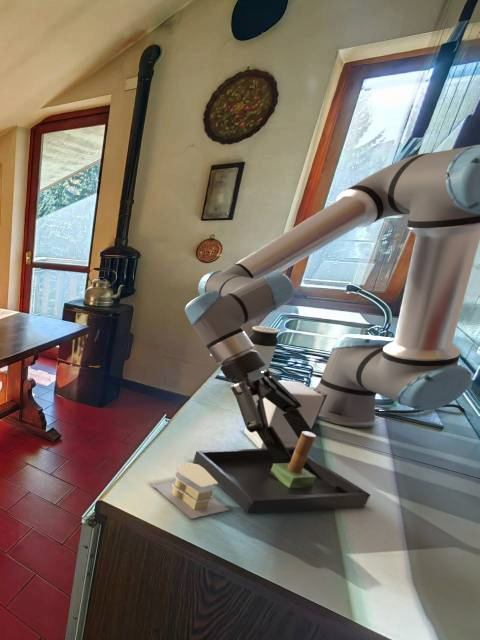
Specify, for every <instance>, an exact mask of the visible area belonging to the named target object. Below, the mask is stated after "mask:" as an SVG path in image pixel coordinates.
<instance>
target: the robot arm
mask: <svg viewBox="0 0 480 640" xmlns="http://www.w3.org/2000/svg"><path fill="white" fill-rule="evenodd" d="M399 215H408V219H407V225H406V229H407V230H409V231H410V232H412V234H414V235H415V238H414V243H413V248H412V252H411V258H410V261H409V267H408V272H407V275H406V281H405V286H404V290H403V295H402V301H401V305H400V310H399V315H398V320H397V323H396V329H395V334H394V337H386V336H381V335H380V336H379V335H367V334H343V335H340V336H339V337H338V338H337V339H336V341H335V343H334V345H333V347H331V351H330V354H329V356H328V358H327V362H326V364H325V367H324V369H323V372H322V375H321V378H320V380H319V383H318V384H317V386H315V388H317V389H318V391H319V390H320V391H321V392H324V393H326V394H327V397H326V399H325V401H324V404H323V406H322V408H321V411H320V413H319V415H318V417H317V420H318V419H319V420H320V421H324V422H327V423H331V424H334V425H338V426H342V427H343V426H344V427H349V428H357V429H358V428H359V429H360V428H363V429H364V428H370V427H372V426H373V425H374V423H375V420H376V413H385V414H387V413H388V414H415V413H416V414H417V413H422V412H425V411H431V410H432V411H433V410H437V409H441V408H456V409H458V410H459V411H461V412H466V410H465V408H464V407H463V406H461V405H459V404H455V403H453V404H452V402H453V401H456V400H457V399H459V398H460V397H461V396H462V395H463V394H464V393H465V392H466V391H467V390H468V388H469V386H470V385H471V383H472V379H473V377H472V373H471V371H470V370H469V369H468V368H466V367H465V366H462V365H461V364H459V360H460V356H461V349H460V348H459V347H457V346H456V345H454V343H453V341H454V336H455V334H456V329H457V326H458V323H459V318H460V315H461V311H462V307H463V303H464V300H465V296H466V292H467V288H468V285H469V281H470V278H471V274H472V269H473V266H474V262H475V259H476V255H477V251H478V248H479V244H480V144H475V145H470V146H465V147H458V148H457V147H456V148H453V149H452V148H451V149H446V150H441V151H440V150H439V151H433V152H425V153H424V152H423V153H418V154H415V155H411V156H409V157H405V158H401V159H400V160H398V161H396V162H393V163H391V164H389V165H387V166H384V167H383V168H381V169H380V170H377V171H375V172H374V173H372V174H369V176H367V177H365V178H363V179H361V180H360V181H358V182H356V183H354V184H353V185H352V186H350V187H348V188H347V189H345V190H344V191H342V192H340V194H339V195H338V196H337V198H336V200H335V201H334V202H333V203H331V204H329V205H328V206H326V207H324V208H322V209H321V210H319V211H318V212H316V213H315V214H313V215H312V216H310V217H308V218H306V219H305V220H303V221H301V222H300V223H299V224H297V225H296V226H293V227H292V228H290V229H289V230H288V231H286V232H284V233H282V234H281V235H279V236H278V237H276V238H274V239H272V240H271V241H270V242H268V243H266V244H265V245H263V246H262V247H260V248H258V249H257V250H255V251H253V252H252V253H249V254H248V255H247V256H245V257H244V258H242V259H241V260H238V261H237V262H236V263H234V264H232V265H231V266H229V267H228V268H226V269H224V270H215V271H213V270H212V271H210V272H208V273H206V274H204V275H203V277H202V278H201V279H200V280H199V282H198V286H197V290H198V296H196V297H195V298H194V299H192V300H190V301H189V302H188V303H187V304H186V305H185V307H184V313H185V315H186V317H187V319H188V321H189V322H190V324H191V327H193V329H194V330H195V332H196V333H197V335H198V336H199V337H200V340H201V341H202V342H203V344H204V345H205V347H206V349H207V350H208V351H209V353H210V354H209V356H210V358H213V360H214V362H216V364H217V365H221V366H220V371H221V373H222V374H223V376H224V377H225V379H226V380H227V381H228V382H231V381H234V380H236V383H234V384H231V385H230V390H231V391H232V393H233V394H234V395H233V396H234V397H235V399H236V403H237V405H238V408H239V411H240V415H241V417H242V420H243V423H244V425H245V428H247V430H248V431H249V432H251V433H252V432H255V431H256V432H257V433H258V435H259V436H260V438H261V440H262V441H263V443H264V444H265V446H266V447H267V449H268V451H269V452H270V454H271V455H272V457H273V458H274V460H275V462H276V461H281V460H285V459H289V458H291V457H292V456H291V454H290V453H289V451H288V450H287V448H286V447H285V445H284V444H283V442H282V440H281V439H280V437H279V436H278V434H277V433H276V431H275V430H274V428H273V427H272V426H268V421H267V417H266V412H265V407H264V403H263V399H264V398H266V399H267V400H269V401H270V402H271V403H273V404H274V405H275V406H277V407H278V408H279V409H281V410H282V411H283V412H287V413H284V414H283V416H284V417H285V419H286V420H287V422H288V423H289V425H290V426H291V428H292V429H293V431H294V432H295V434H296V435H297V437H298V438H300V436H301V433H302V432H303V431H307V432H311V433H313V434H315V432H314V431H313V430H312V428H310V427H309V425H308V424H307V422H306V421H305V419H304V418H303V416H302V415H301V413H300V412H299V411H298V409H297V408H300V407H301V404H300V403H299V401H298V400H297V399H296V398H295V397H294V396H293V395H292V394H291V393H290V392H289V391H288V390H287V389H286V388H285V387H284V386H283V385H282V384H281V383H280V382H279V381H280V380H278V379H277V378H276V377H275V375H274V374H273V373H272V372H271V371H270V369H267V370H265V371H263V372H261V371H260V370H259V368H261V367H264V366H265V364H266V363H265V361H264V360H263V358H262V357H261V356H260V354H259V353H258V351H257V352H256V351H253V348H254V345H253V343H252V342H251V340H250V339H249V335H248V334H247V333H246V332H245V330H244V328H243V327H242V326H243V325H244V324H247V323H250V322H251V321H253V320H256V319H258V318H260V317H262V316H264V315H267V314H269V313H271V312H274V311H276V310H278V309H279V308H282V307H283V306H284V305H286V304H288V303H290V302H291V301H292V300H293V298H294V296H295V290H294V284H293V282H292V281H291V279H290V278H289V277H288V276H287V275H285V273H282V272H284V271H286V270H287V269H289V268H291V267H292V266H294V265H296V264H297V263H299V262H301V261H302V260H304V259H306V258H308V257H310V256H311V255H312V254H315V253H316V252H318V251H320V250H321V249H323V248H324V247H326V246H328V245H329V244H331V243H333V242H335V241H337V240H338V239H339V238H341V237H343V236H345V235H347V234H348V233H350V232H352V231H353V230H355V229H357V228H367V227H369V226H371V225H372V224H374V223H376V222H377V221H380V220H383V219H386V218H388V217H393V216H394V217H395V216H399ZM377 395H380V396H382V397H384V398H387V399H390V401H391V400H392V401H393V402H396V403H397V404H399V405H400V406H403V407H404V406H405V407H408V408H411V409H385V410H386V411H379V410H383V409H381V408H376V396H377ZM462 407H463V408H462Z"/></svg>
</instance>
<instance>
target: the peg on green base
mask: <svg viewBox="0 0 480 640" xmlns="http://www.w3.org/2000/svg"><path fill="white" fill-rule="evenodd" d="M313 433H314V432H313ZM313 433H311V432H307V431H303V432H302V433H301V436H300V438H299V441H298V443H297V446H296V448H295V451H294V453H293V456H292V458H291V461H290V463H277V464H273V466H272V469H271V471H270V474H271V475H273V476H274V477H275V478H277V479H278V480H279V481H281V482H282V483H283V484H285V485H286V486H287V487H289V488H301V487H312V486H313V484H314V481H315V479H316V476H314V475H313V474H311V473H310V472H308V471H307V470H305V469H304V468H303V467H304V464H305V462H306V460H307V457H308V456H309V455H310V453H311V450H312V447H313V445H314V443H315V441H316V438H317V435H316V434H315V433H314V434H313Z"/></svg>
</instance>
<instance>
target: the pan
mask: <svg viewBox="0 0 480 640" xmlns="http://www.w3.org/2000/svg"><path fill="white" fill-rule="evenodd" d="M286 448H287V450H288V451H289V453H290V454H291V456H293V453H294V451H295V447H286ZM291 458H292V457H291ZM291 458H289V459H285V460H281V461H276V462H275V460H274V458H273V457H272V455H271V454H270V452H269V451H268V449H267V448H260V449H259V448H238V449H237V448H235V449H211V450H210V449H209V450H196V451H195V454H194V457H193V461H192V463H194V464H198V465H200V466H201V467H203V468H204V469H205V470H206V471H207V472H208V473H209V474H210V475H211V476H212V477H213V478H214V479H215V480H216V481H217V482H218V484H216V485H217V486H218V487H219V488H220V489H221V490H222V491H223V492H224V493H226V495H227V496H229V497H230V498H231V499H232V500H233V501H234V502H235V503H237V505H238V506H240V507H241V508H242V509H243V510H244V512H246V513H247V514H248V515H253V514H270V513H271V514H272V513H289V512H290V513H291V512H308V511H326V510H345V509H346V510H347V509H363V508H365V506H366V504H367V503H368V501H369V499H370V497H371V494H370V493H369V492H368V491H366V490H364V489H362V488H361V487H359V486H357V484H354V482H351V481H349V480H348V479H346V478H345V477H343V476H341V475H340V474H338V473H337V472H335V471H334V470H332V469H330V468H329V467H327V466H325V465H324V464H322V463H321V462H319V461H318V460H316V459H315V458H313V457H312V456H309V455H308V457H307V460H306V462H305V464H304V467H303V468H304V469H305V470H307V471H308V472H310V473H311V474H313V475H314V476H316V479H315V481H314V484H313V486H312V487H301V488H289V487H287V486H286V485H285V484H283V483H282V482H281V481H279V480H278V479H277V478H275V477H274V476H273V475H271V474H270V471H271V469H272V466H273V464H277V463H290V461H291Z"/></svg>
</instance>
